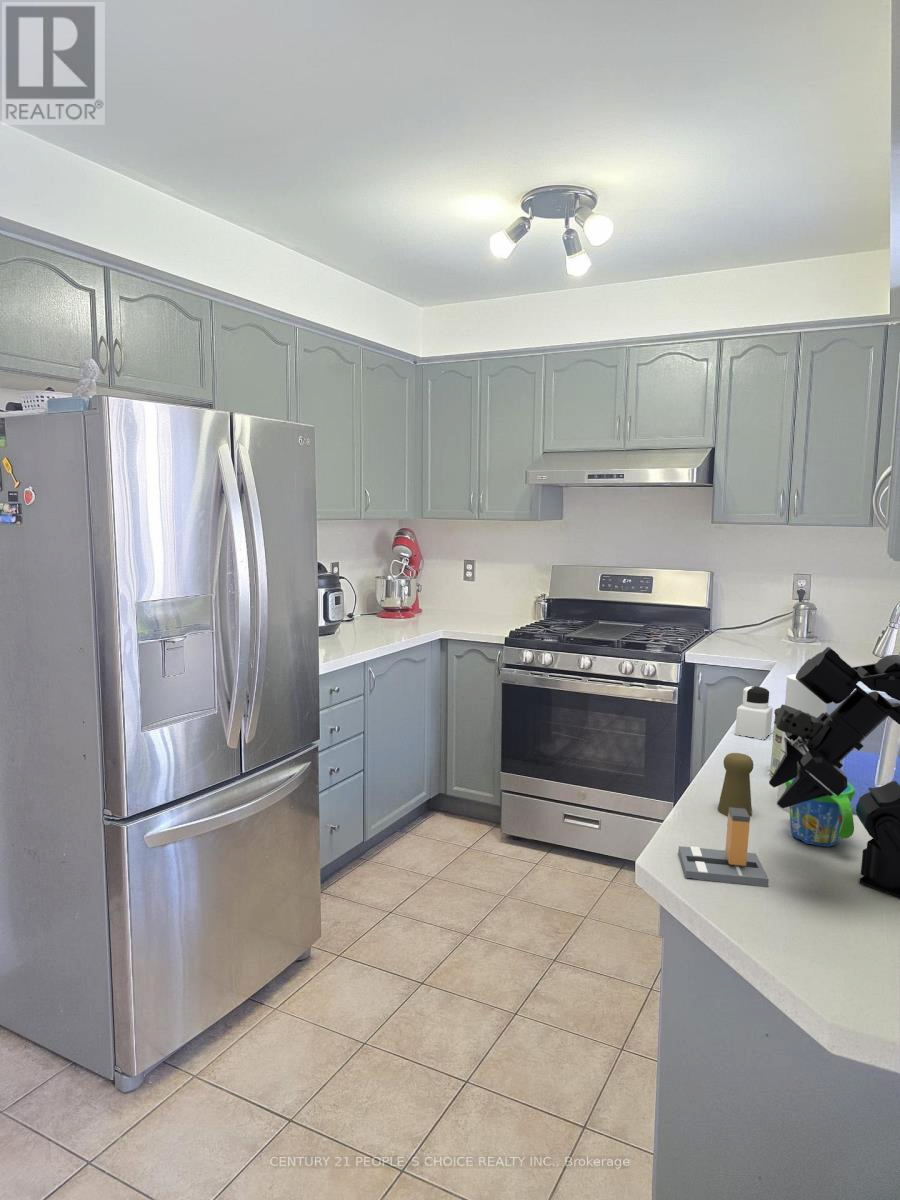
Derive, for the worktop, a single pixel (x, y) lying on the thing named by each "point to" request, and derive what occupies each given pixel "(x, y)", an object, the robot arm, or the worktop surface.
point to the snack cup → (823, 818)
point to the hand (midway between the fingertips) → (775, 795)
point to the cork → (736, 783)
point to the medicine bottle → (754, 713)
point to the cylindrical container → (806, 703)
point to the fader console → (720, 867)
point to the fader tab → (737, 836)
